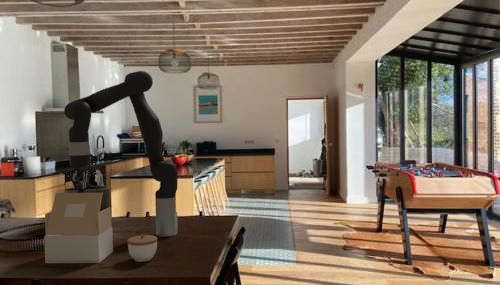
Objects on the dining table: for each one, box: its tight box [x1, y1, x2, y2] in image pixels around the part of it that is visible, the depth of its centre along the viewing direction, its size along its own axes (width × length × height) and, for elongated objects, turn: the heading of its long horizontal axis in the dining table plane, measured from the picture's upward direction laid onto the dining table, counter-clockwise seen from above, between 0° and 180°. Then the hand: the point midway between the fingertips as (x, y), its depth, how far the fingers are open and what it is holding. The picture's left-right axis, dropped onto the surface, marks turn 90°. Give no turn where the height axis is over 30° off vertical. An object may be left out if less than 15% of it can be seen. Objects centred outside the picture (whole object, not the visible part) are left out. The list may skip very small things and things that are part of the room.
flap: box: [45, 192, 103, 235], centre depth 157 cm, size 18×16×1 cm
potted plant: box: [63, 147, 111, 212], centre depth 215 cm, size 21×22×40 cm
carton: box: [43, 206, 114, 264], centre depth 161 cm, size 20×15×18 cm
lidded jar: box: [127, 233, 158, 263], centre depth 157 cm, size 11×11×9 cm
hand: (82, 198), depth 163 cm, fingers closed
